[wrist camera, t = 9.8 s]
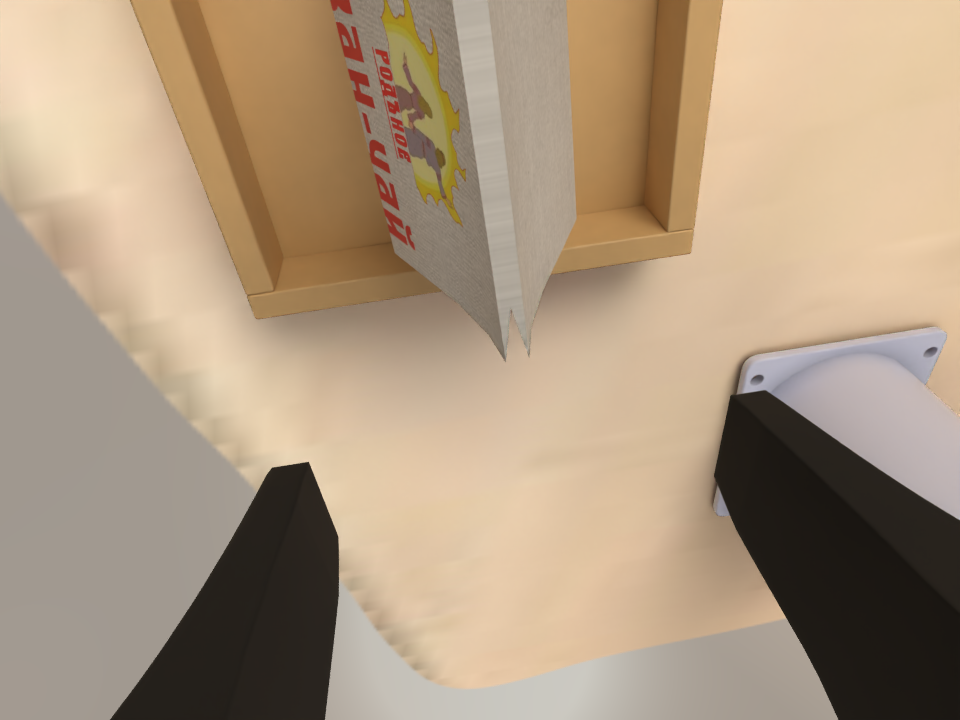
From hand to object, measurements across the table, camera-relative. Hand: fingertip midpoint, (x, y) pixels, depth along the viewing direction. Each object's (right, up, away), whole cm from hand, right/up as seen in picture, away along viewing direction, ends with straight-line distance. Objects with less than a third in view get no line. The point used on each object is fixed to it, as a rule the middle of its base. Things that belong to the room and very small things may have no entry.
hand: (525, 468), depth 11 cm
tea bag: (-2, +11, +4) cm, 12 cm away
